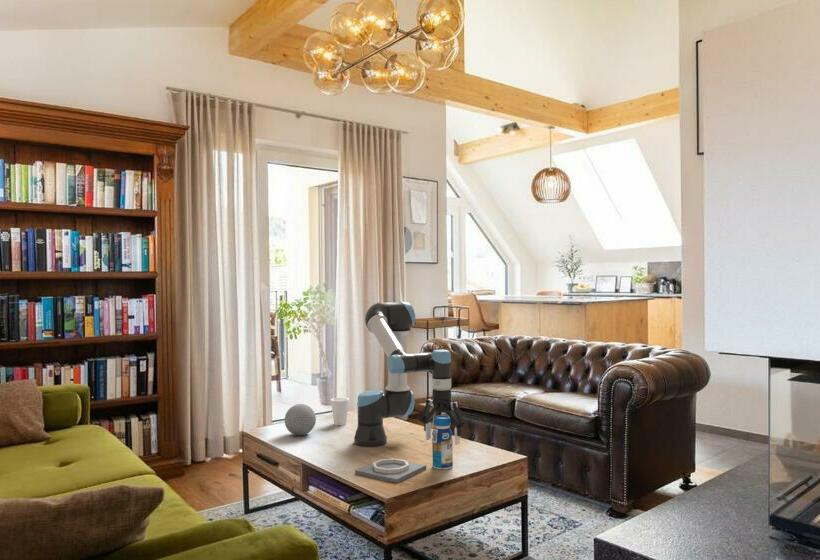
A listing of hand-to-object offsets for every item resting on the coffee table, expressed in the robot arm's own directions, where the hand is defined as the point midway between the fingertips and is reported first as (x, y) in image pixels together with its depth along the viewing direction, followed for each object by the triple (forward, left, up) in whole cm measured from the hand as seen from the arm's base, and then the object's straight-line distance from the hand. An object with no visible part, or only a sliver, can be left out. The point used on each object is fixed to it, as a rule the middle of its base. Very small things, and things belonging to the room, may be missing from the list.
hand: (442, 441), depth 243 cm
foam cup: (-82, +32, -10) cm, 89 cm away
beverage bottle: (0, 0, -10) cm, 10 cm away
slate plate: (-14, -16, -10) cm, 24 cm away
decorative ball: (-84, +5, -10) cm, 85 cm away
